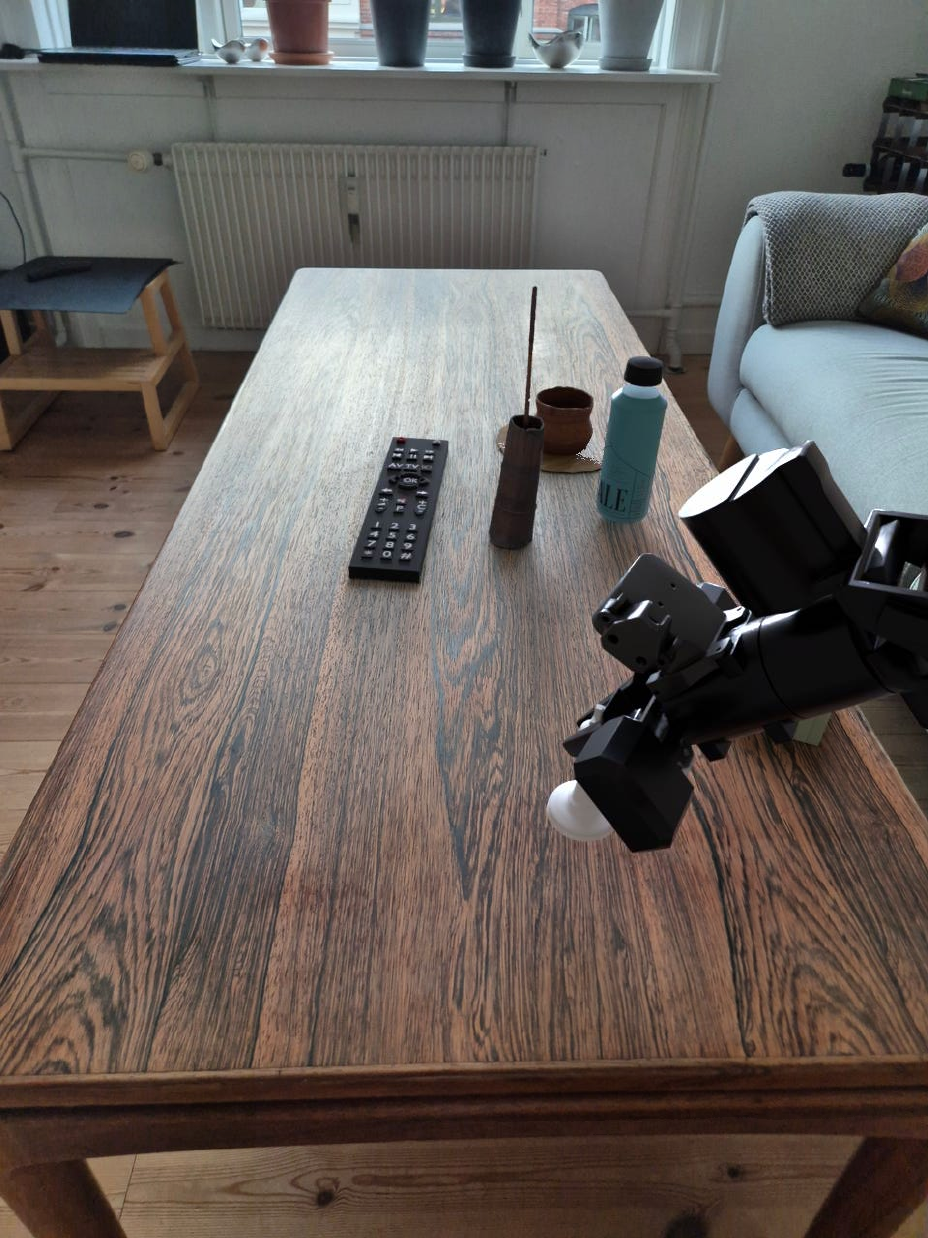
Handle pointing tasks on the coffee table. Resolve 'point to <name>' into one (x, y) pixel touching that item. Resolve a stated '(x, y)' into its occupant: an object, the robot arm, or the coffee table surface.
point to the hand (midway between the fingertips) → (573, 737)
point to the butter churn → (519, 469)
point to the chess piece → (577, 806)
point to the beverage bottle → (632, 443)
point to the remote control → (401, 512)
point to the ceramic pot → (563, 429)
